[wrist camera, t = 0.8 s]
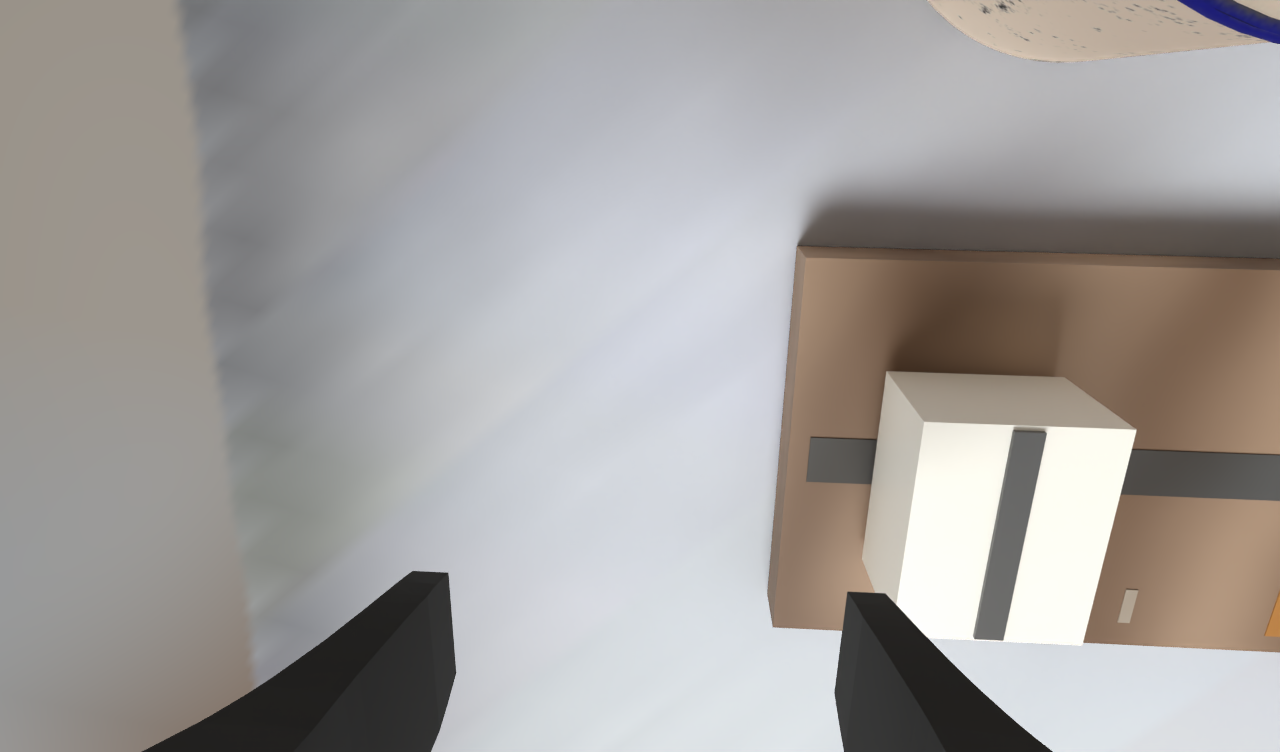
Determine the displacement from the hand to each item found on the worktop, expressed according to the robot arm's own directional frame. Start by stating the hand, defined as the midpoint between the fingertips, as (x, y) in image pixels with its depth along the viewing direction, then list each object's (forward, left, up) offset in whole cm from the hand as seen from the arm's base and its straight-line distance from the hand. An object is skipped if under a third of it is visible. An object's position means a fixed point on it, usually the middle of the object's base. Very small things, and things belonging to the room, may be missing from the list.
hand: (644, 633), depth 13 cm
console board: (-12, 0, -8) cm, 15 cm away
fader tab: (-7, 0, -6) cm, 10 cm away
